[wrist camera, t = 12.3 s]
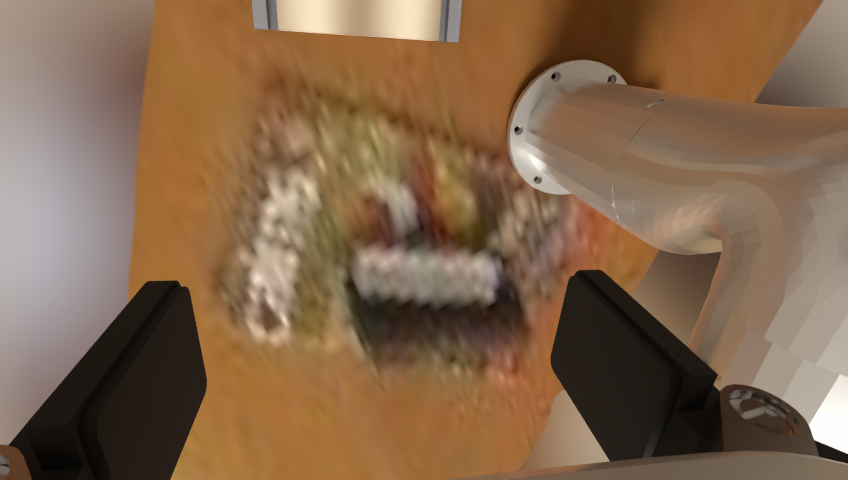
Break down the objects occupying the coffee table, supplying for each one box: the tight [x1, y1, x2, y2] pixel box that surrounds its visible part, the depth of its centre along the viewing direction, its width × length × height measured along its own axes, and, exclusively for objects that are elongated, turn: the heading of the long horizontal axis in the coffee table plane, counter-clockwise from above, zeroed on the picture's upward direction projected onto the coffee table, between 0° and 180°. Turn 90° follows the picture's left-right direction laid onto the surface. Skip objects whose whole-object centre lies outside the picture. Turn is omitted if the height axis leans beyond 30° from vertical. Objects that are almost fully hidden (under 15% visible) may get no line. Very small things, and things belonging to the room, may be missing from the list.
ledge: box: [276, 0, 441, 41], centre depth 32 cm, size 12×4×3 cm, turn 86°
